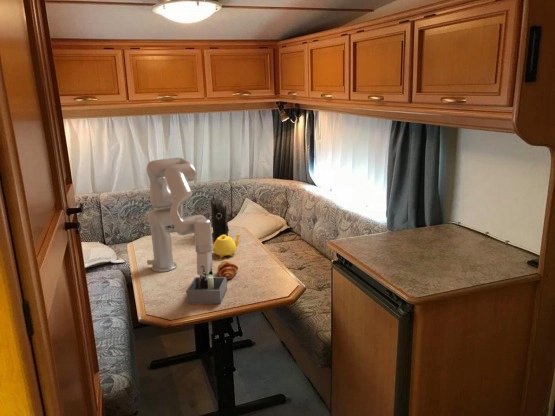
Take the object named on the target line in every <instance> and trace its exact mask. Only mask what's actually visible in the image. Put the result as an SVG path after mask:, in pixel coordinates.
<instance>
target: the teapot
mask: <svg viewBox="0 0 555 416" xmlns="http://www.w3.org/2000/svg"><path fill="white" fill-rule="evenodd" d="M241 234H242V232H239V233H237V235H236V237H235V240H234V238H232V237H231V236H229V235H228V236H226V235H222V236H220V237H218V238H217V239H216V241H214V242H213V251H212V252H213V253H214V254H215V255H216V256H219V258H220V259H223V258H224V257H226V256H229V257H233V256H234V254H235V252H236V251H237V247H238V246H239V244H240V235H241Z"/></svg>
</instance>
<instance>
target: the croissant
mask: <svg viewBox="0 0 555 416" xmlns="http://www.w3.org/2000/svg"><path fill="white" fill-rule="evenodd" d="M238 269H239V267H238V265H237V264H236V263H234V262H231V261H229V260H224V261H221V262H220V264H218V266H217V273H218V275H219V277H226V279H227V280H230V279H233V277H235V275H236V274H237V272H238Z"/></svg>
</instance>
